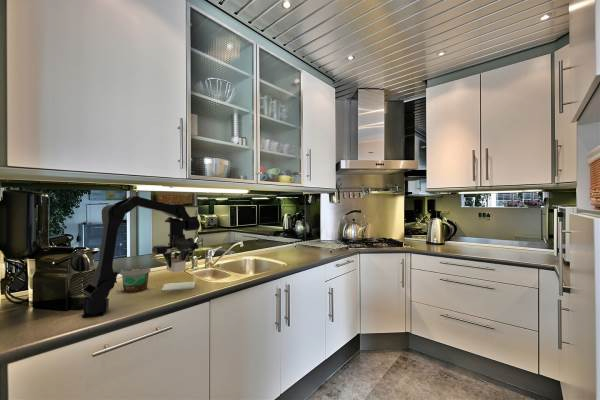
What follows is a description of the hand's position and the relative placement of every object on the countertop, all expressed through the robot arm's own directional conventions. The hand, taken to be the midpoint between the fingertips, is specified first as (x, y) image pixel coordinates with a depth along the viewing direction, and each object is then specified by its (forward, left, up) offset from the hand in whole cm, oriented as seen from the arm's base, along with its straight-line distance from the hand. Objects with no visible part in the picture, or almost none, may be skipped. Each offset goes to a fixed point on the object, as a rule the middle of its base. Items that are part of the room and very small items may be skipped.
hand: (176, 266), depth 124 cm
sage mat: (+1, +8, -12) cm, 14 cm away
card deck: (0, 0, -2) cm, 2 cm away
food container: (-18, +7, -12) cm, 23 cm away
